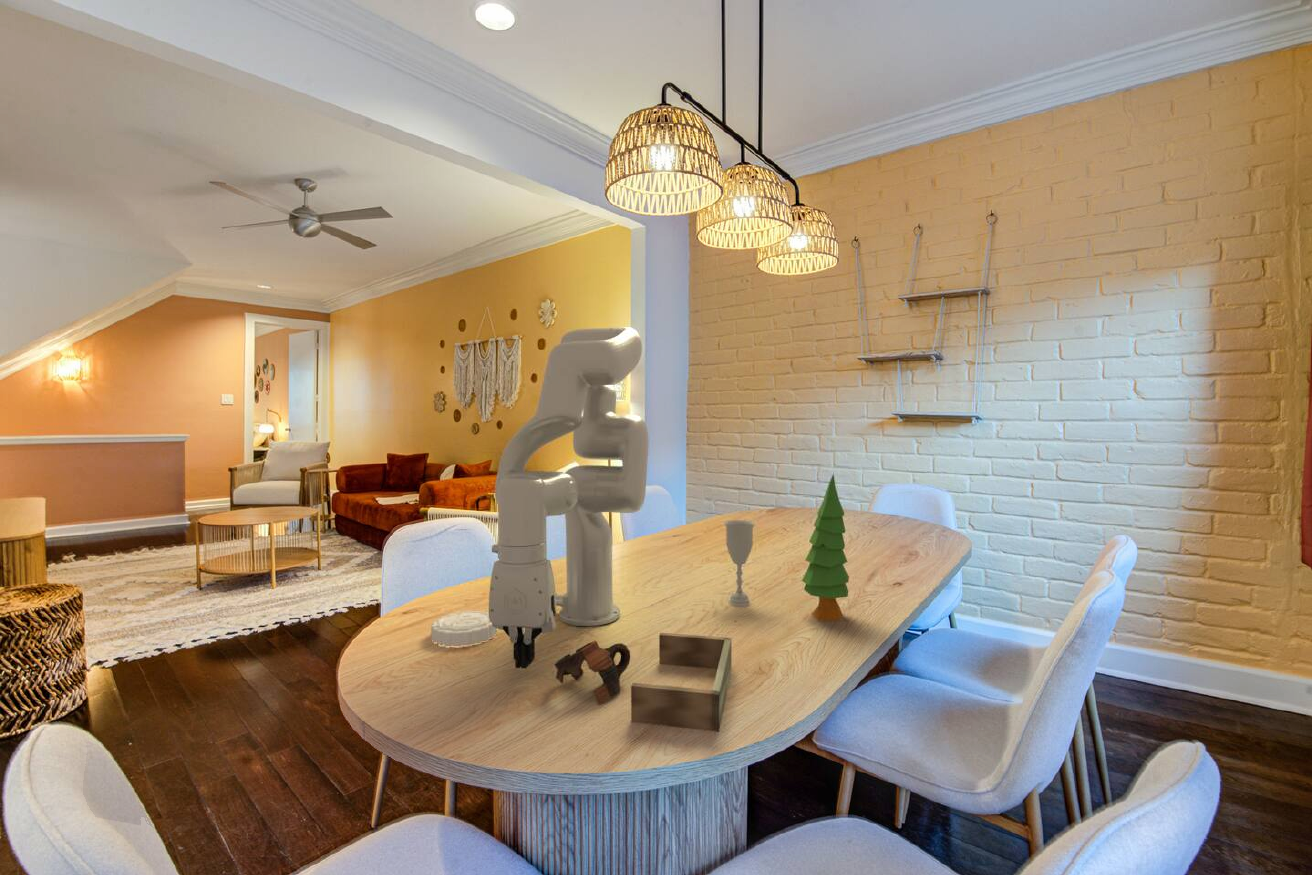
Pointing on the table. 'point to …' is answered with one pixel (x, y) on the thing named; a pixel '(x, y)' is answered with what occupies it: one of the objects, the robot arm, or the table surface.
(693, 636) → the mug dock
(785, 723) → the table surface
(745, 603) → the chalice
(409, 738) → the table surface
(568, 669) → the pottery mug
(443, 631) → the mooncake
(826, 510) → the decorative tree
